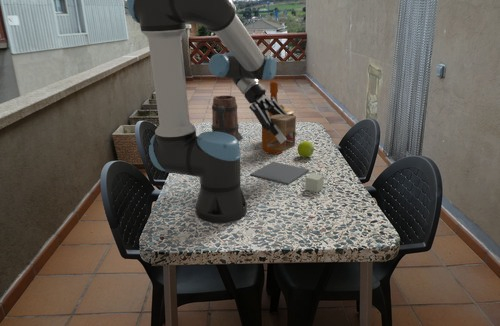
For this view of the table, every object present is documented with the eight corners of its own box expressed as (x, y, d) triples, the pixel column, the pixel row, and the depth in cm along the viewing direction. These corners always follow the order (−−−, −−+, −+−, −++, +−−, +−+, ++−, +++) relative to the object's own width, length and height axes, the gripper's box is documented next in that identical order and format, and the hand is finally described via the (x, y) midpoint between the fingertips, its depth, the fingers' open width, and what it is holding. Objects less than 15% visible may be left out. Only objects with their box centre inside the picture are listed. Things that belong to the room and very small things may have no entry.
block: (305, 189, 132) (305, 177, 130) (310, 185, 135) (311, 173, 134) (317, 192, 129) (318, 180, 128) (323, 188, 133) (323, 175, 131)
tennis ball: (301, 153, 168) (301, 138, 165) (315, 156, 164) (316, 140, 162) (294, 157, 162) (295, 142, 160) (309, 160, 159) (310, 144, 157)
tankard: (211, 133, 199) (210, 93, 193) (244, 133, 198) (244, 93, 191) (201, 147, 177) (199, 103, 171) (238, 147, 176) (238, 103, 169)
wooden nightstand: (267, 147, 142) (267, 117, 139) (277, 142, 148) (278, 113, 144) (284, 151, 138) (285, 120, 135) (294, 145, 144) (295, 116, 140)
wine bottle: (288, 153, 168) (290, 82, 158) (267, 155, 165) (267, 83, 155) (278, 146, 177) (279, 79, 167) (258, 149, 173) (258, 80, 163)
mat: (250, 175, 144) (250, 173, 144) (273, 162, 157) (273, 161, 157) (288, 184, 136) (288, 183, 136) (309, 170, 148) (309, 169, 148)
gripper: (261, 91, 153) (296, 137, 150) (229, 100, 138) (267, 152, 135) (272, 78, 149) (309, 126, 146) (241, 86, 133) (281, 139, 130)
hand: (289, 138), depth 140 cm, fingers closed on wooden nightstand, 7 cm apart
